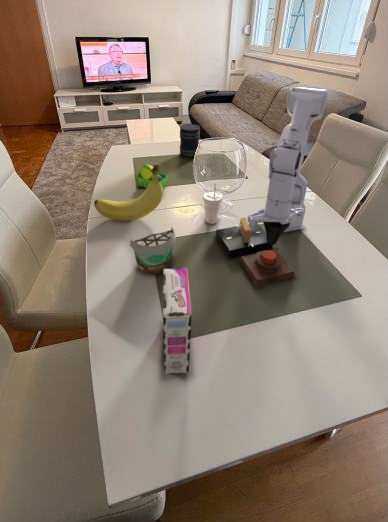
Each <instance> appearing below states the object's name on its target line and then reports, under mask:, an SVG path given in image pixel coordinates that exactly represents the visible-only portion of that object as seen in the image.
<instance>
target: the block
mask: <svg viewBox="0 0 388 522" xmlns="http://www.w3.org/2000/svg"><path fill="white" fill-rule="evenodd" d="M264 251H265V250H264ZM270 251H273V252H274V253H275V254H276V259H275V263H273V264H266V263H264V262H263V261H262V259H261V257H262V253H263V251H260V252H257V253H253V254H248V255H243V256H241V259H240V264H241V265H242V267H243V269H244V270H245V271H246V273H247V274H248V276H249V278H250V279H251V281H252V282H253V284H254V285H255V287H260V286H264V285H268V284H271V283H272V284H273V283H277V282H280V281H284V280H288V279H293V278H294V277H295V273H296V271H295V270H294V268H293V267H292V266H291V264H289V263H288V261H287V260H286V259H285V258H284V256H282V254H281V253H280V252H279V251H278V249H271V250H270Z"/></svg>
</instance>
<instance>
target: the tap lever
mask: <svg viewBox="0 0 388 522" xmlns="http://www.w3.org/2000/svg"><path fill="white" fill-rule="evenodd" d="M239 220H240V221H239V226H240V232H241V235H242V238H243V241H244V243H249V242H250V234H251V231H250V228H249V225H248V224H249V223H248V222H247V217H240V219H239Z"/></svg>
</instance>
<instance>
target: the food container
mask: <svg viewBox="0 0 388 522" xmlns="http://www.w3.org/2000/svg"><path fill="white" fill-rule="evenodd" d="M176 240H177V238H176V233H175V230H174V227H171V229H169V230H166V231H162V232H158V233H152V234H150V235H147V236H144V237H142V238H139V239H135V240H134V239H133V238H131V240H130V241H129V246H130V247H131V249H132V250H133V253H134V257H135V262H136V265H137V268H138V270H140V271H141V272H142V273H144V274H147V275H158V274H163V273H164V269H170V266H171V264H172V256H173V255H172V254H173V246H174V245H175V243H176Z"/></svg>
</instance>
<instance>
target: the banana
mask: <svg viewBox="0 0 388 522" xmlns="http://www.w3.org/2000/svg"><path fill="white" fill-rule="evenodd" d="M152 167H153V169H151V170H150V171H151V172H152V174H153V177H152V181H151V183H150V184H149V185H148V187H147V188H145V190H144V191H143V193H142V194H141V195H139V196H138V197H136V198H134V199H132V200H127V201H115V200H109V199H100V198H99V199H95V200H94V202H93V205H94V207H95V210H96V211H97V213H99V214H100V215H101V216H103V217H104V218H107V219H111V220H113V221H134V220H138V219H142V218H144V217H145V216H148V215H149V214H150V213H152V212H153V211H155V210H156V209H157V208H158V206H159V205H160V204H161V202H162V200H163V195H164V189H163V188H162V186H161V184H160V183H159V181H158V179H157V173H160V165H159V164H154V165H153V166H152Z"/></svg>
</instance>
